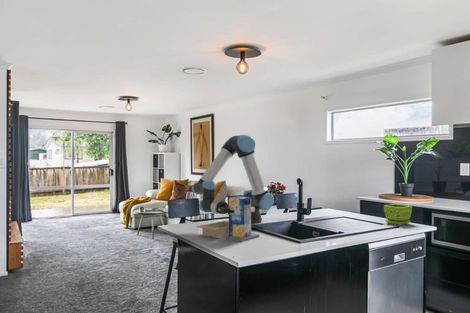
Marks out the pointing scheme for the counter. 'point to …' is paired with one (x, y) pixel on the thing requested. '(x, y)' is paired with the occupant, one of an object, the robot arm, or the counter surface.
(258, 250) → the counter surface
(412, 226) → the counter surface
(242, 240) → the mat
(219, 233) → the wooden tray
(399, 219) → the flower pot
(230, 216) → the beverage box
